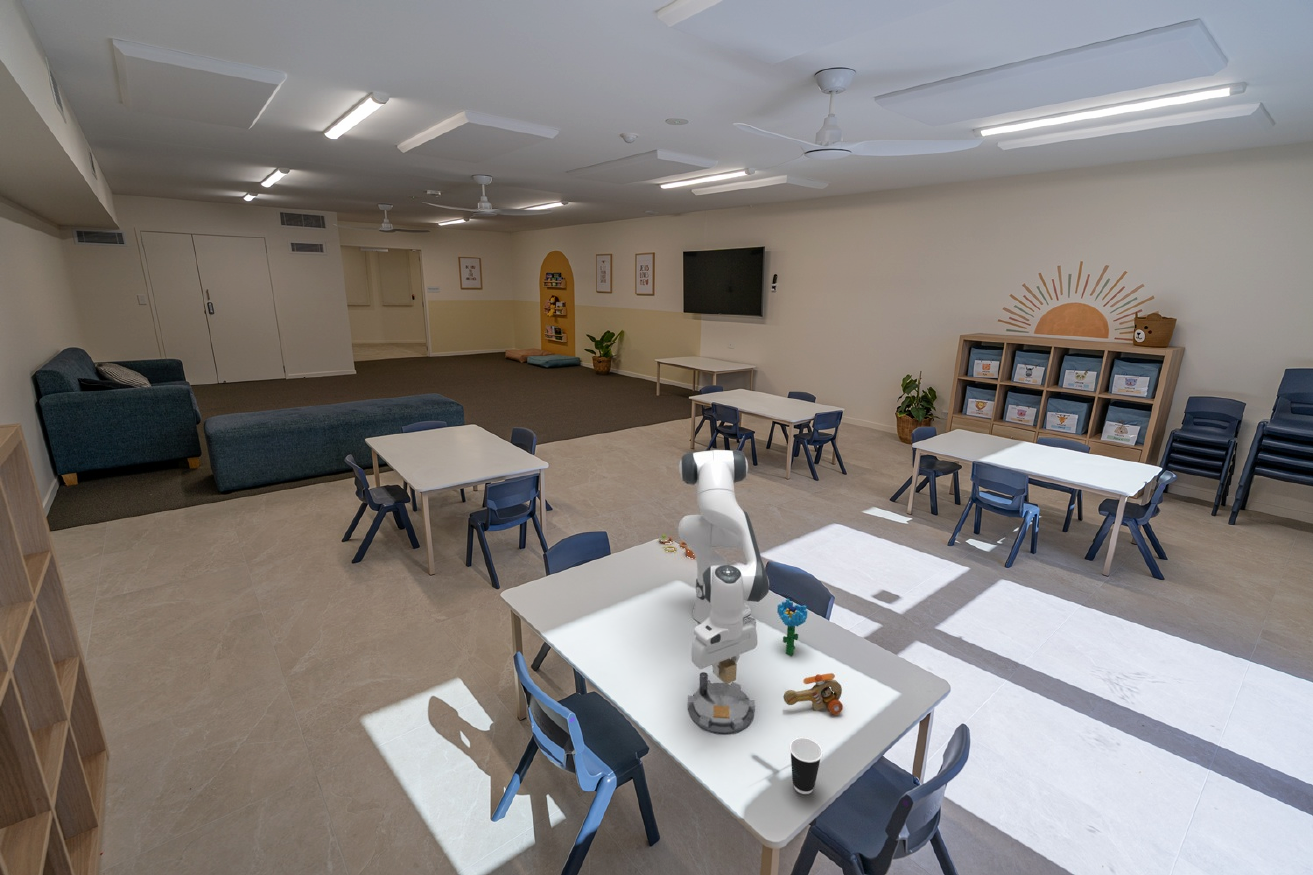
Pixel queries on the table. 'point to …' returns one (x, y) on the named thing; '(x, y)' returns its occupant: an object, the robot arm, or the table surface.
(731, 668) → the wooden block
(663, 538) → the toy tea set
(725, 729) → the sprocket base
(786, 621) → the toy flower
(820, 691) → the toy helicopter
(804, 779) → the dixie cup
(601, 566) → the table surface
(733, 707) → the sprocket
